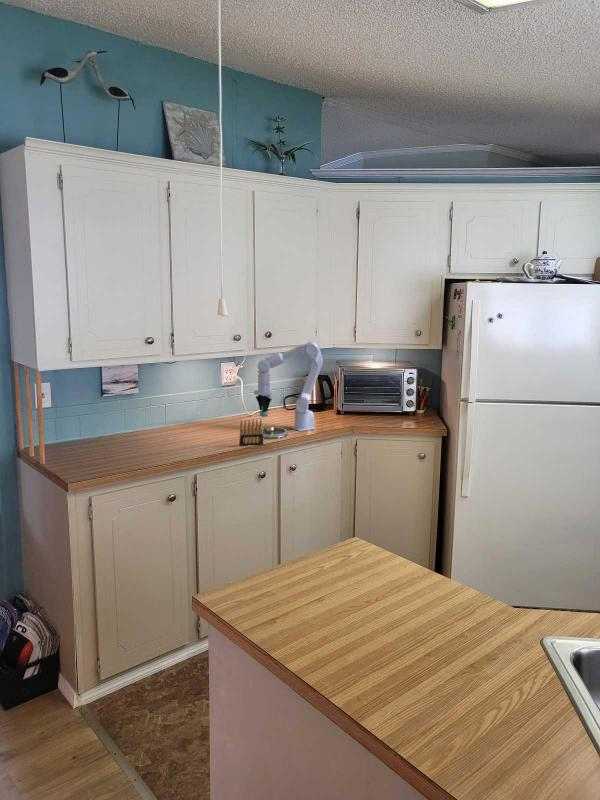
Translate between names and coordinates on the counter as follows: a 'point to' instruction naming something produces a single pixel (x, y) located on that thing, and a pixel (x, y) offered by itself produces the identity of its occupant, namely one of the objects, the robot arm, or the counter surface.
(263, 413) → the teal mushroom knob
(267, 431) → the round metal bowl
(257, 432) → the ammunition clip
